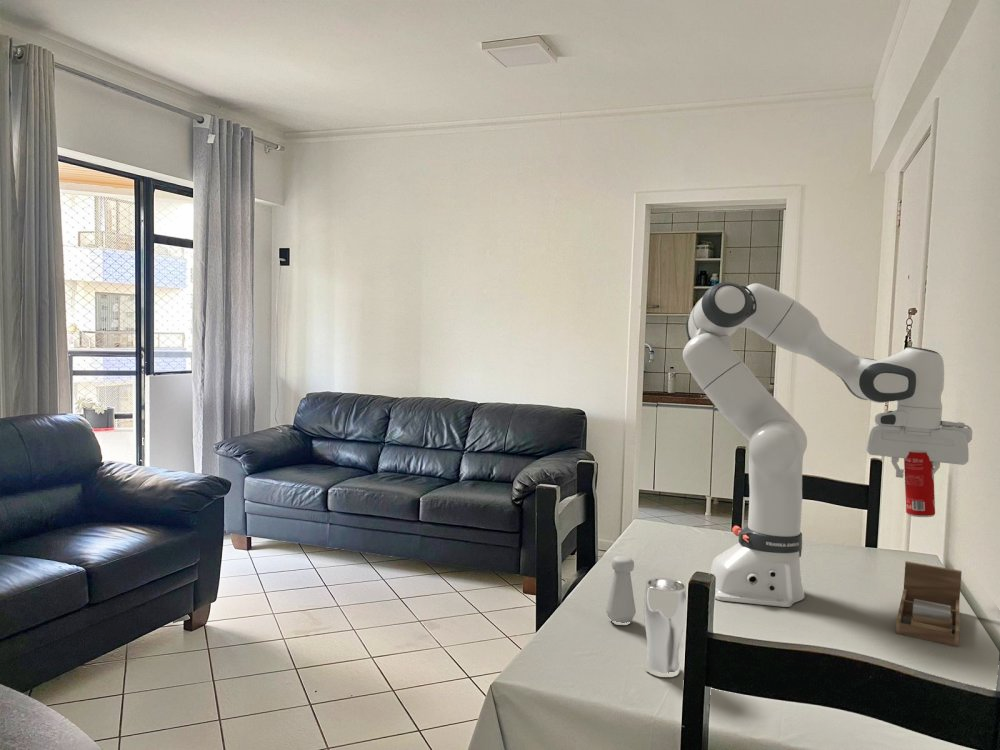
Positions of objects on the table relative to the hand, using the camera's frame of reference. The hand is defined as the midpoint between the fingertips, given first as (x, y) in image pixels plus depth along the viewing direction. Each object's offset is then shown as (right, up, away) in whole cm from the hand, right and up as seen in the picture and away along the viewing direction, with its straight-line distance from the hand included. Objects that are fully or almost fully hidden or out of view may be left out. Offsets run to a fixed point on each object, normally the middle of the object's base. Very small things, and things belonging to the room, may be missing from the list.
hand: (914, 479), depth 165 cm
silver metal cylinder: (-8, -27, -20) cm, 35 cm away
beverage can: (+1, -8, 0) cm, 8 cm away
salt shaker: (-71, -26, -22) cm, 78 cm away
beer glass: (-67, -27, -42) cm, 83 cm away
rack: (-6, -27, -17) cm, 32 cm away
